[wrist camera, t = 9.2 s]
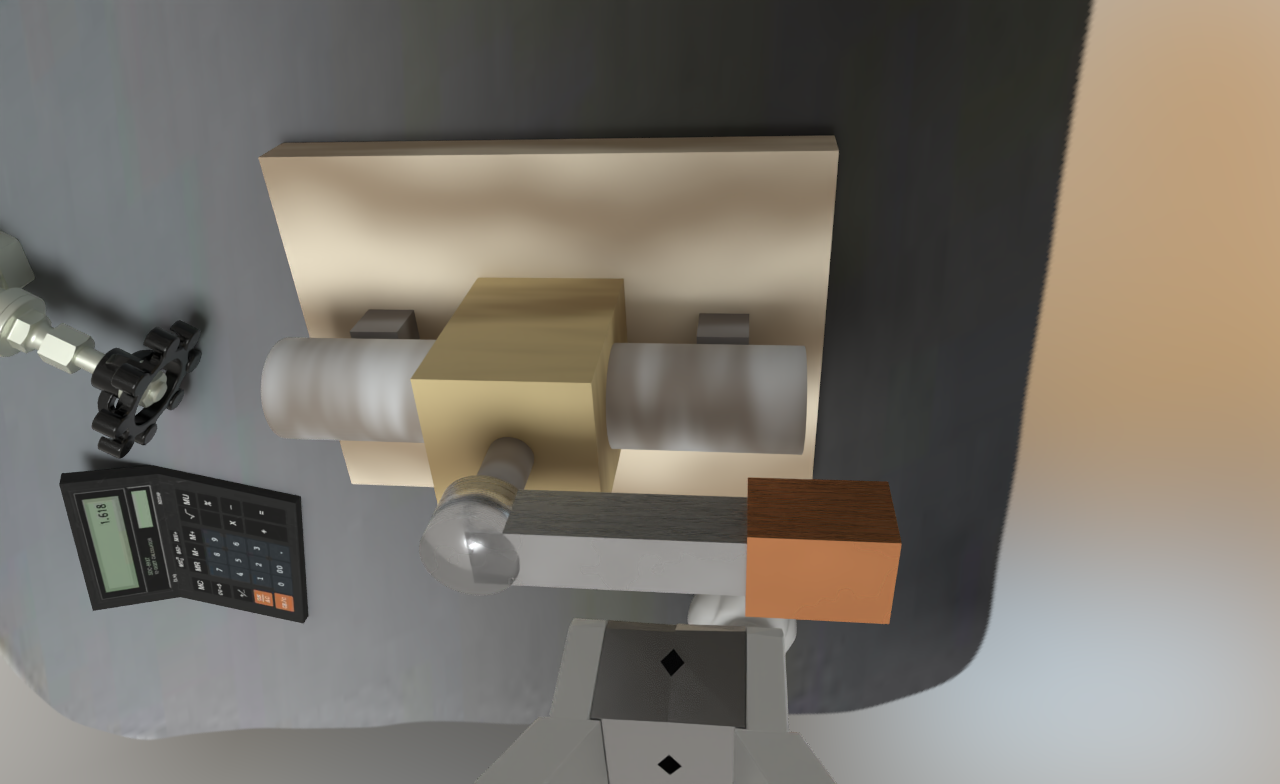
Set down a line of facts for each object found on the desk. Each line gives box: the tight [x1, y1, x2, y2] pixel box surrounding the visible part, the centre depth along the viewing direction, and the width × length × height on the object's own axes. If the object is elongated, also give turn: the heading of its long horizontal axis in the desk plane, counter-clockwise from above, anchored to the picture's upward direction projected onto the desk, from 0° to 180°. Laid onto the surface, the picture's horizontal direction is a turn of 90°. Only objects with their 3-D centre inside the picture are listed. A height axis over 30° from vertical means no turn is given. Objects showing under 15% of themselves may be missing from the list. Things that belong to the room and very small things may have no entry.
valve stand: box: [259, 135, 839, 503], centre depth 32 cm, size 16×22×13 cm
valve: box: [0, 231, 201, 458], centre depth 37 cm, size 7×7×12 cm
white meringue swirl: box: [688, 594, 797, 653], centre depth 41 cm, size 5×7×8 cm
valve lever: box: [419, 475, 902, 624], centre depth 25 cm, size 14×3×3 cm, turn 93°
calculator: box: [60, 466, 308, 623], centre depth 46 cm, size 9×12×3 cm
